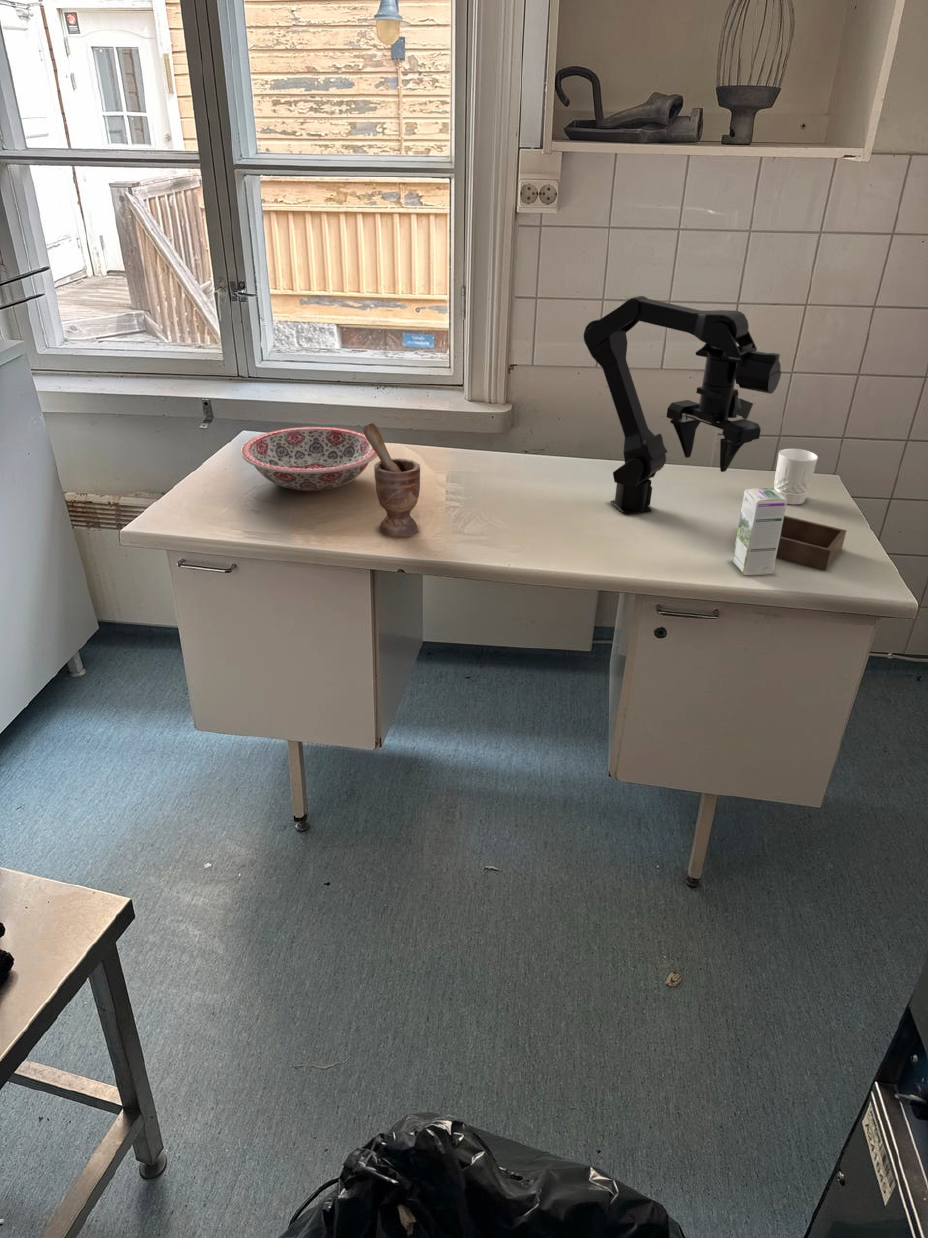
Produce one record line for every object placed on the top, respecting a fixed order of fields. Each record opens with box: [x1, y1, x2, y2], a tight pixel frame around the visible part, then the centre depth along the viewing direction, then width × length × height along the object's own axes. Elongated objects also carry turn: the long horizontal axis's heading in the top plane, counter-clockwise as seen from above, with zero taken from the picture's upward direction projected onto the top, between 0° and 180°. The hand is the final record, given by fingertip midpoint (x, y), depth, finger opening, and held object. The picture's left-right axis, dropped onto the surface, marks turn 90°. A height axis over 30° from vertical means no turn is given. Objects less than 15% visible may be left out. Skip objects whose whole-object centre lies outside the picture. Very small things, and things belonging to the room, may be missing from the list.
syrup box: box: [731, 487, 788, 576], centre depth 161 cm, size 6×6×14 cm
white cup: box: [773, 448, 819, 505], centre depth 193 cm, size 8×8×10 cm
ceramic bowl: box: [240, 426, 378, 492], centre depth 193 cm, size 29×29×8 cm
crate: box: [776, 515, 847, 571], centre depth 171 cm, size 16×12×4 cm
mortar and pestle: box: [362, 422, 421, 537], centre depth 170 cm, size 12×9×20 cm
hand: (705, 464), depth 174 cm, fingers open, 9 cm apart
